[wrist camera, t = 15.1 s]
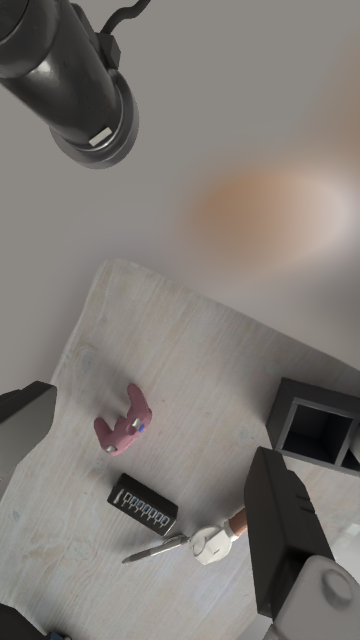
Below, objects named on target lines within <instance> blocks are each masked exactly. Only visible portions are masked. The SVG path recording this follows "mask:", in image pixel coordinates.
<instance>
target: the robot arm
mask: <svg viewBox="0 0 360 640" xmlns="http://www.w3.org/2000/svg"><path fill="white" fill-rule="evenodd" d="M149 2H150V0H139V1H138V2H137V3H136V4H135V5H134V6H132V7H124V8H120V9H118V10H117V11H116V12H115V13H114V14H113V15H112V16H111V17H110V18H109V19H108V21H107V22H106V24H105V25H104V27H103V29H102V30H101V32H100V33H96V32H94V31H93V29H92V27H91V25H90V23H89V21H88V19H87V17H86V15H85V13H84V11H83V9H82V8H81V7H80V6H79V5H78V4H75V3H70V2H69V0H0V85H1V86H2V87H3V88H5V89H6V90H7V91H8V92H9V93H10V94H12V95H13V96H14V97H15V98H16V99H18V100H19V101H20V102H21V103H22V104H23V105H25V106H26V107H27V108H28V109H29V110H31V111H32V112H33V113H34V114H35V115H36V116H38V117H39V118H40V119H41V120H42V121H44V122H45V123H46V124H47V125H48V126H49V127H51V128H52V129H53V130H54V131H55V132H56V133H58V134H59V135H60V136H61V137H62V138H63V139H64V140H65V141H66V142H67V143H68V144H69V145H71V146H72V147H73V148H75V149H77V150H79V151H82V152H87V153H93V152H98V151H101V150H103V149H105V148H107V147H108V146H109V145H111V144H112V143H113V142H114V140H115V139H116V138H117V136H118V135H119V133H120V130H121V128H122V125H123V120H124V103H123V98H122V95H121V93H120V91H119V89H118V87H117V82H118V77H117V75H116V73H115V71H114V69H115V70H118V67H119V60H120V53H121V52H120V49H119V47H118V45H117V43H116V40H115V38H114V36H113V35H110V34H111V32H112V31H113V29H114V28H115V27H116V25H117V24H118V23H119V22H121V21H122V20H124V19H131V18H135V17H137V16H138V15H139V14H140V13H141V12H142V11H143V10H144V9H145V7H146V6H147V5H148V3H149ZM56 396H57V387H56V386H54V385H50V384H47V383H44V382H40V381H35V382H33V383H32V384H30V385H28V386H27V387H25V388H24V389H22V390H19V389H18V390H15V391H11V392H8V393H5V394H2V395H1V396H0V481H1V480H2V479H3V478H4V477H5V476H6V475H7V474H8V473H9V472H10V471H11V470H12V469H13V468H14V467H15V466H16V465H17V464H18V463H19V462H20V461H21V460H22V459H23V458H24V457H25V456H26V455H27V454H28V453H29V452H30V451H31V450H32V449H33V448H34V447H35V446H36V445H37V444H38V443H39V442H40V441H41V440H42V439H43V438H44V437H45V436H46V435H47V434H48V432H49V430H50V428H51V426H52V423H53V418H54V411H55V404H56ZM244 503H245V512H246V520H247V528H248V537H249V545H250V553H251V562H252V570H253V578H254V587H255V595H256V603H257V612H258V614H261V615H264V616H267V617H270V618H272V620H273V624H271V625H270V627H269V629H268V631H267V632H266V634H265V636H264V638H263V640H360V585H359V584H358V583H357V582H356V580H355V579H354V578H353V577H352V576H351V575H350V574H349V573H348V572H347V571H346V570H345V569H344V568H343V567H342V566H340V565H339V564H338V563H336V562H335V559H334V557H333V554H332V552H331V549H330V547H329V544H328V542H327V539H326V537H325V534H324V532H323V530H322V527H321V525H320V522H319V520H318V517H317V515H316V514H315V510H314V507H313V505H312V502H310V497H309V495H308V493H307V490H306V488H305V485H304V484H303V483H302V481H301V480H300V479H299V478H298V476H297V475H296V474H295V472H294V471H290V470H287V468H286V465H285V462H284V460H283V457H282V454H281V453H280V452H278V451H275V450H271V449H268V448H264V447H261V446H259V447H258V448H257V450H256V453H255V456H254V459H253V462H252V465H251V467H250V470H249V473H248V476H247V479H246V483H245V488H244ZM0 640H48V639H47V638H46V637H45V636H44V635H43V634H42V633H41V632H39V631H38V630H37V629H36V628H35V627H34V626H33V625H32V624H31V623H30V622H29V621H28V620H27V619H26V618H25V617H24V616H22V615H21V614H20V613H19V612H18V611H17V610H16V609H15V608H12V607H9V606H7V605H4V604H1V603H0Z"/></svg>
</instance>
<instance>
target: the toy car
mask: <svg viewBox="0 0 360 640" xmlns="http://www.w3.org/2000/svg"><path fill="white" fill-rule="evenodd" d="M45 637H46V638H47V639H48V640H72V638H71V637H70V636H66V637H64V638H62V637H61V636H59V635H58V634H56V633H55V632H53V631H52V632H51V633H49V634H47V635H46V636H45Z"/></svg>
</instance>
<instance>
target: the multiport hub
mask: <svg viewBox="0 0 360 640" xmlns="http://www.w3.org/2000/svg"><path fill="white" fill-rule="evenodd" d="M107 501H108V503H110V504H112V505H113V506H115V507H116V508H118V509H119V510H121V511H123V512H124V513H126V514H127V515H129V516H131V517H132V518H134V519H135V520H137V521H139V522H140V523H142V524H143V525H145V526H147V527H148V528H150V529H151V530H153V531H154V532H156V533H158V534H159V535H161V536H165V535H166V534H167V532H168V531H169V530H170V528H171V527H172V526H173V524H174V523H175V522H176V519H177V513H178V506H177V505H175V504H173V503H172V502H170V501H169V500H167V499H165V498H164V497H162V496H161V495H159V494H157V493H156V492H154V491H153V490H151V489H149V488H148V487H146V486H145V485H143V484H141V483H140V482H138V481H137V480H135V479H133V478H132V477H130V476H129V475H127V474H125V473H123V474H122V475H121V477H120V478H119V480H118V481H117V483H116V484H115V486H114V487H113V489H112V491H111V493H110V495H109V497H108V499H107Z"/></svg>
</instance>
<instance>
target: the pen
mask: <svg viewBox="0 0 360 640" xmlns="http://www.w3.org/2000/svg"><path fill="white" fill-rule="evenodd" d="M175 538H178V539H176V540H173V541H170V542H167V541H169V540H172V539H175ZM188 540H190V537H186V536H185V535H178V536H175V537H173V538H170V539H168V540H167V541H165V542H164V543H163V544H162V545H160V546H157V547H154V548H151V549H148V550H145V551H142V552H140V553H137V554H134V555H131V556H129V557H127V558H125V559H124V560H123V561H122V563H123V564H129V563H133V562H136V561H138V560H141V559H144V558H147V557H150V556H153V555H155V554H157V553H160V552H163V551H166V550H169V549H172V548H174V547H177V546H180V545H183V544H185V543H187V542H188ZM166 542H167V543H166Z"/></svg>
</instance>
